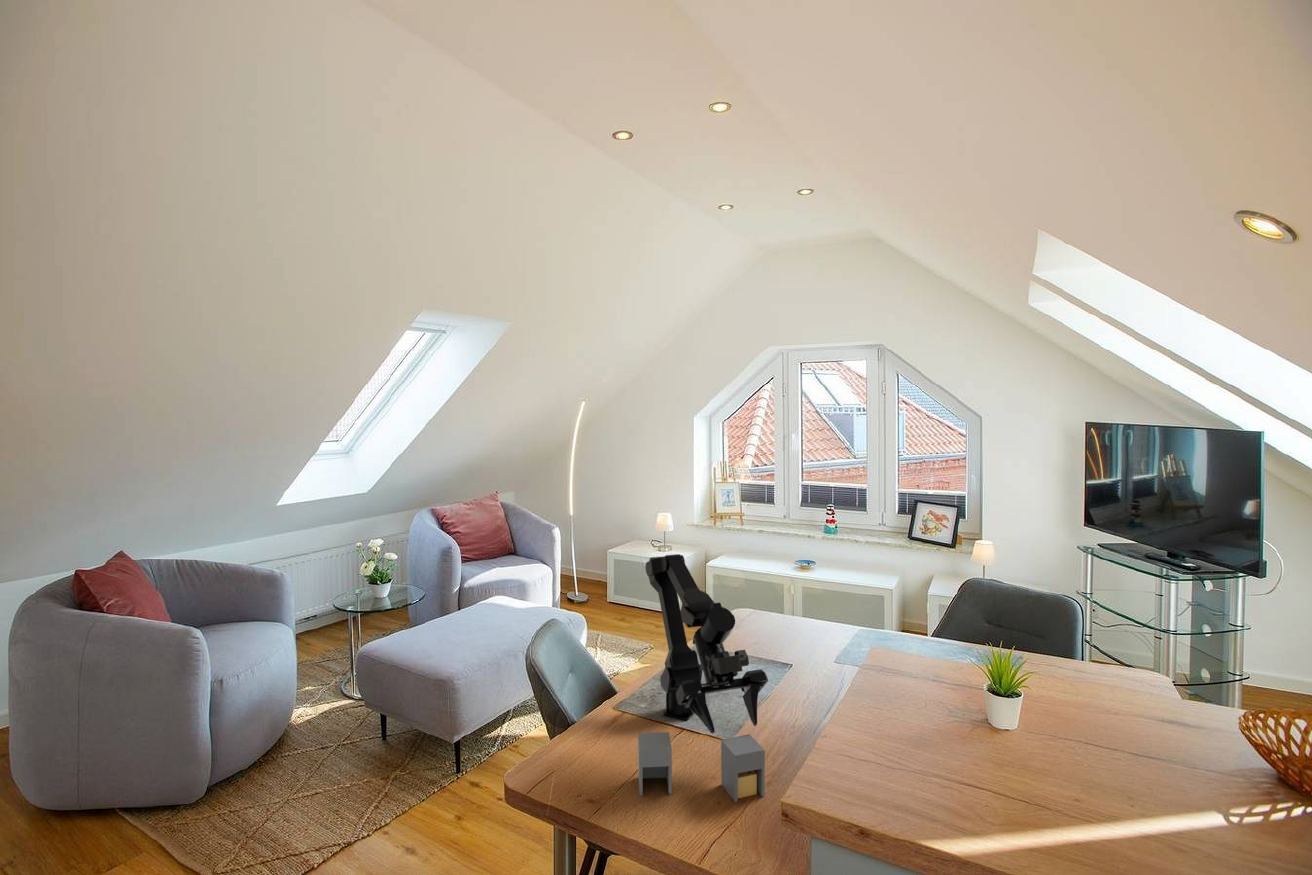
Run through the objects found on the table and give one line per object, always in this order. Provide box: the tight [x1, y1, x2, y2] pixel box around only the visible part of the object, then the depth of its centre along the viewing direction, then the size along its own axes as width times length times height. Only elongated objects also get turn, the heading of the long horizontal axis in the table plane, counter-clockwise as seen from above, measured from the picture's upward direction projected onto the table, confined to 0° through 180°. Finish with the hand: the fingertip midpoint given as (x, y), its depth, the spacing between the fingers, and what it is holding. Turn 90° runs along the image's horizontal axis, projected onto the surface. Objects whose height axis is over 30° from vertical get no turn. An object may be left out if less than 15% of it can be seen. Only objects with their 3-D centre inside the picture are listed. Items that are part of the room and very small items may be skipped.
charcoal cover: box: [720, 734, 766, 804], centre depth 125 cm, size 6×6×9 cm
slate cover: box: [637, 731, 673, 797], centre depth 127 cm, size 6×6×9 cm
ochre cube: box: [738, 770, 758, 799], centre depth 125 cm, size 4×4×4 cm
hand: (734, 728), depth 128 cm, fingers open, 9 cm apart
